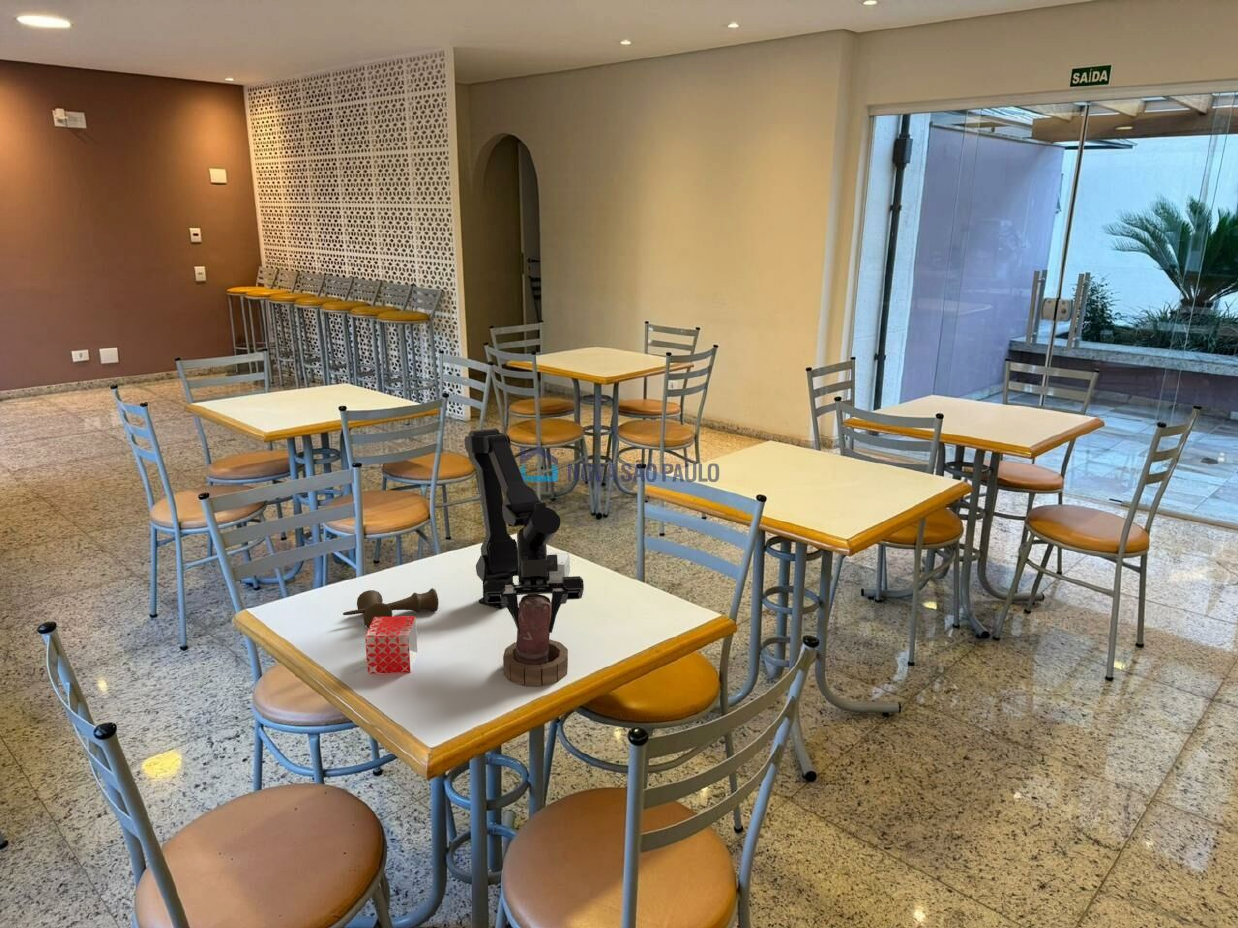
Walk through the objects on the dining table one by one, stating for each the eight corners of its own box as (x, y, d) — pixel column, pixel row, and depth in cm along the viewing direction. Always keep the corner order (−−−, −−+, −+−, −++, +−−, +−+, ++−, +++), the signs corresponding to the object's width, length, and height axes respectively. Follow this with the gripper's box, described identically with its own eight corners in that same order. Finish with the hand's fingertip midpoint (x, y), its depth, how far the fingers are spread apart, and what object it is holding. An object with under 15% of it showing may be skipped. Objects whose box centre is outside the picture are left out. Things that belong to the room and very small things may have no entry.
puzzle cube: (376, 653, 161) (374, 616, 158) (417, 652, 161) (415, 616, 159) (367, 674, 153) (365, 635, 151) (410, 673, 153) (408, 635, 151)
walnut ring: (491, 675, 153) (490, 658, 152) (528, 648, 163) (528, 632, 162) (544, 692, 148) (544, 675, 147) (579, 664, 158) (579, 647, 157)
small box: (570, 571, 202) (570, 552, 201) (564, 584, 195) (564, 564, 194) (539, 569, 203) (539, 550, 202) (532, 582, 196) (532, 562, 194)
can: (543, 677, 152) (548, 609, 148) (510, 671, 153) (514, 603, 149) (552, 662, 158) (557, 595, 154) (521, 656, 159) (525, 590, 155)
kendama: (443, 620, 176) (347, 636, 167) (431, 604, 185) (339, 618, 175) (442, 594, 175) (346, 609, 166) (430, 579, 183) (338, 592, 174)
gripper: (483, 540, 151) (484, 621, 144) (583, 537, 154) (589, 616, 147) (484, 563, 161) (485, 640, 153) (578, 559, 164) (584, 635, 156)
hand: (535, 633), depth 152 cm, fingers closed on can, 5 cm apart
